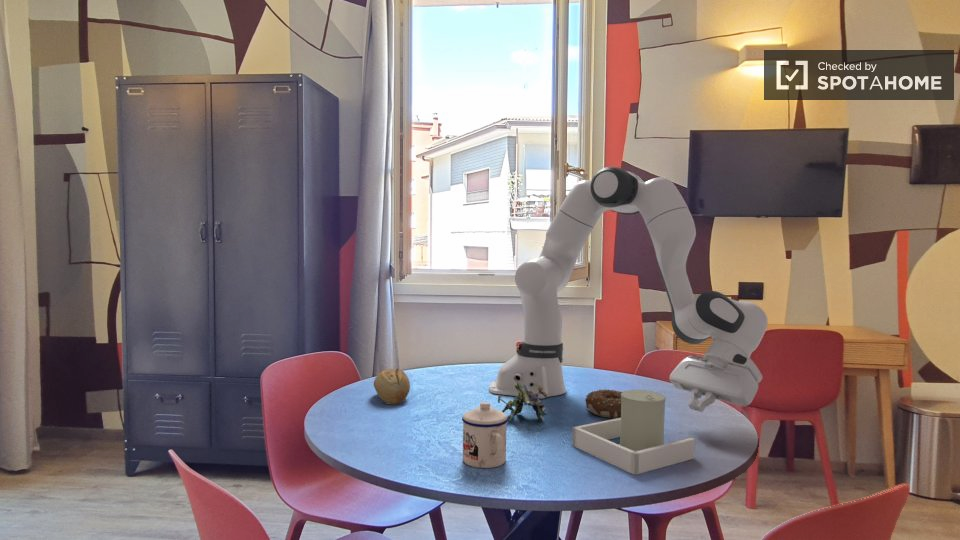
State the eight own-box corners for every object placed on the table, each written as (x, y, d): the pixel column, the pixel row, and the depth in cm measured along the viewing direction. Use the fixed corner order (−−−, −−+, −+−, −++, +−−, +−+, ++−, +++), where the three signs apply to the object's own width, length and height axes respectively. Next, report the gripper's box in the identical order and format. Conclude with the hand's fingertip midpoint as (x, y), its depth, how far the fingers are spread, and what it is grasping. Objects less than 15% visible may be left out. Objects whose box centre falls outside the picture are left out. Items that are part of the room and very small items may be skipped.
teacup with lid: (454, 455, 119) (455, 399, 118) (495, 449, 123) (495, 395, 122) (478, 478, 108) (479, 416, 107) (522, 470, 112) (523, 410, 111)
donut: (575, 408, 154) (575, 389, 154) (618, 403, 159) (619, 385, 159) (605, 424, 141) (606, 404, 141) (652, 419, 146) (652, 399, 146)
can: (635, 458, 119) (637, 400, 118) (611, 443, 127) (612, 389, 127) (673, 453, 122) (675, 397, 121) (646, 439, 130) (648, 386, 130)
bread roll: (402, 390, 169) (402, 363, 169) (415, 404, 155) (415, 374, 155) (369, 393, 166) (369, 365, 165) (379, 407, 152) (379, 377, 152)
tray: (629, 432, 134) (629, 415, 134) (694, 458, 119) (694, 439, 119) (572, 445, 126) (572, 427, 125) (634, 475, 110) (635, 454, 110)
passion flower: (538, 442, 143) (559, 411, 136) (498, 439, 139) (517, 406, 133) (528, 406, 152) (547, 375, 145) (489, 402, 148) (507, 369, 142)
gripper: (681, 346, 144) (652, 390, 140) (758, 361, 127) (728, 412, 122) (693, 362, 147) (665, 405, 142) (769, 379, 129) (740, 429, 125)
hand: (694, 409), depth 132 cm, fingers closed
